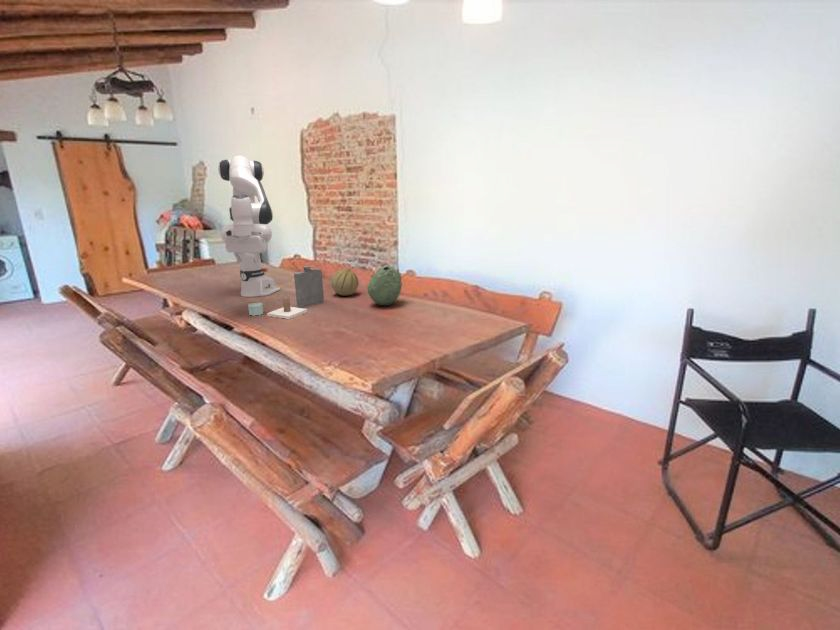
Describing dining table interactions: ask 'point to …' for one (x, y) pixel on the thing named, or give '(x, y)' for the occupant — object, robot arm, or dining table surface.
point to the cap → (255, 309)
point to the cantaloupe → (344, 282)
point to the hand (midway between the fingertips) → (247, 262)
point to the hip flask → (308, 287)
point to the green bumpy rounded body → (385, 285)
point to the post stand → (287, 310)
